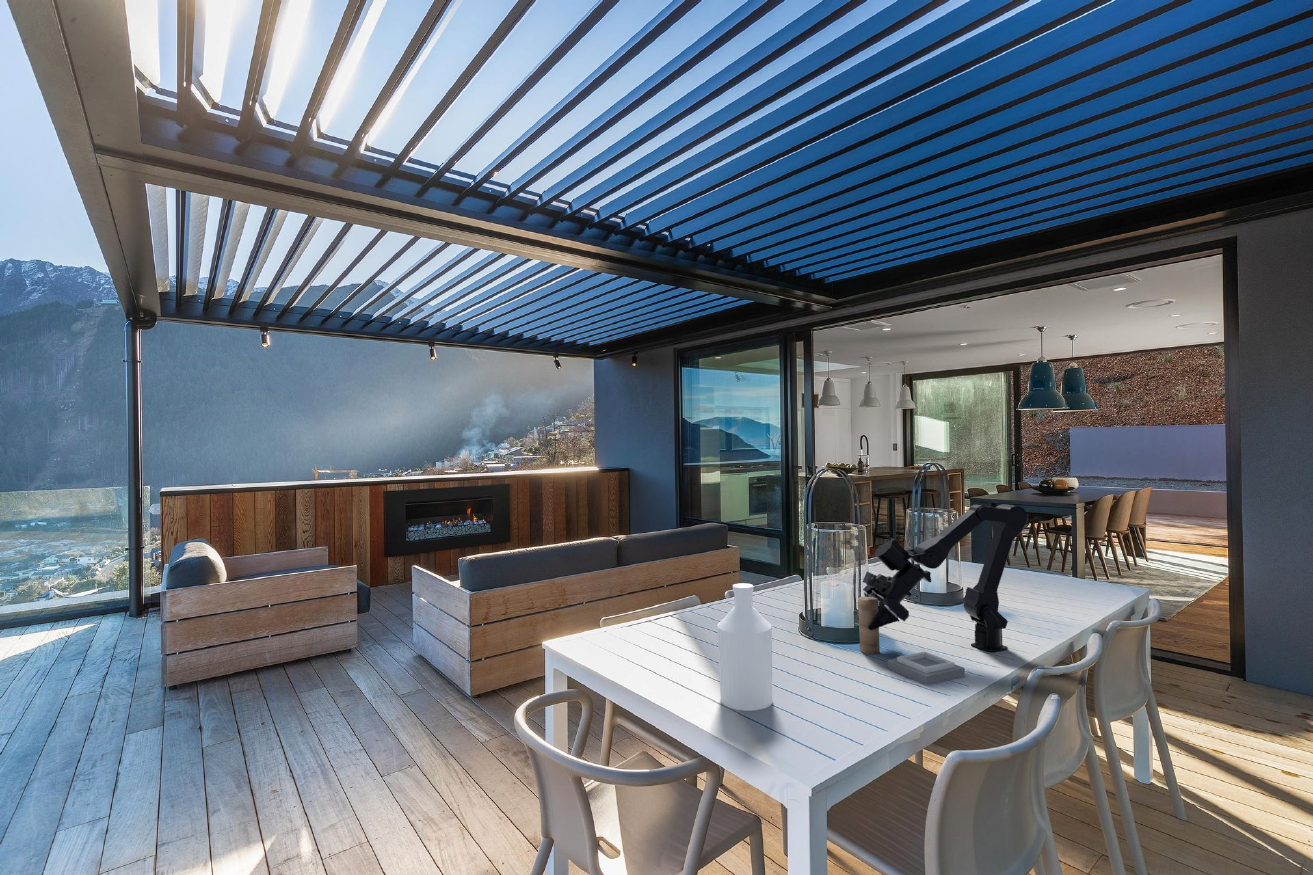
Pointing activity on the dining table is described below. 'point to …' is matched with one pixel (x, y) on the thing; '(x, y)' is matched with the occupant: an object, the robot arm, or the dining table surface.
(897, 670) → the base
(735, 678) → the bottle
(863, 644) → the post
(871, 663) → the dining table surface
